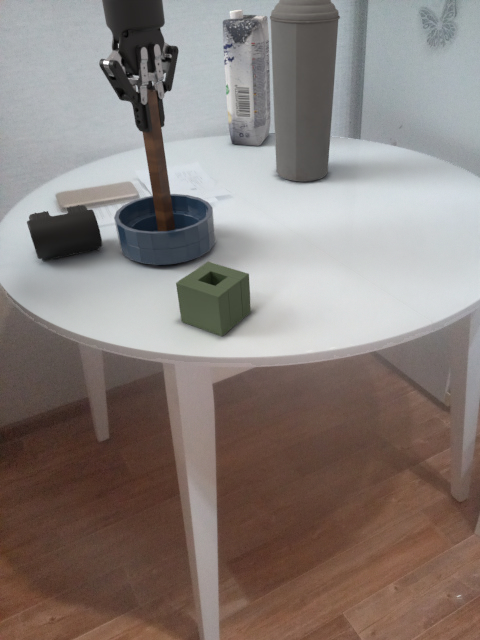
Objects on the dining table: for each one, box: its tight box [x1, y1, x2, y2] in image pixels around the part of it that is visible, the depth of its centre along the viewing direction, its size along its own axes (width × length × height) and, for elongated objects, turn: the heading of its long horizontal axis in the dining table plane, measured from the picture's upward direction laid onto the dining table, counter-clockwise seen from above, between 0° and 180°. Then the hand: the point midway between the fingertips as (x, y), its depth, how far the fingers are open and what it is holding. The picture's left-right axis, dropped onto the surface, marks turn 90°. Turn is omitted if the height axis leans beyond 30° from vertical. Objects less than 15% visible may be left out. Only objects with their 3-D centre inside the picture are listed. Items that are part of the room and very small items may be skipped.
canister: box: [269, 0, 341, 182], centre depth 108 cm, size 13×13×35 cm
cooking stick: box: [136, 89, 175, 231], centre depth 85 cm, size 2×2×22 cm
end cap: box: [26, 204, 103, 262], centre depth 89 cm, size 10×7×7 cm
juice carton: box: [222, 9, 271, 147], centre depth 129 cm, size 9×10×27 cm
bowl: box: [113, 193, 216, 266], centre depth 91 cm, size 15×15×6 cm
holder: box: [175, 261, 252, 337], centre depth 74 cm, size 7×7×6 cm
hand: (151, 128), depth 81 cm, fingers closed on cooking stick, 2 cm apart
